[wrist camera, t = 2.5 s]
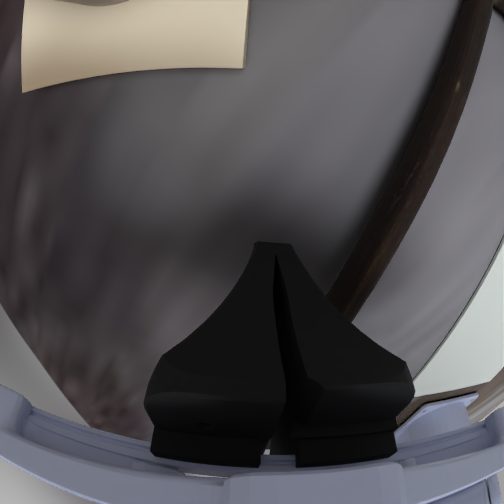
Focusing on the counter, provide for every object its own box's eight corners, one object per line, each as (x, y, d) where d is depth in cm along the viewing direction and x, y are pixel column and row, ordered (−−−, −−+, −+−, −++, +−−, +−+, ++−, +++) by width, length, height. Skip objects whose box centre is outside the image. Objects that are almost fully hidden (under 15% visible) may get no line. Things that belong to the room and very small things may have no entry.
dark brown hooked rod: (517, 35, 7) (296, 413, 22) (445, -27, 6) (236, 401, 21) (585, 38, 2) (297, 470, 17) (508, -54, 2) (229, 460, 17)
